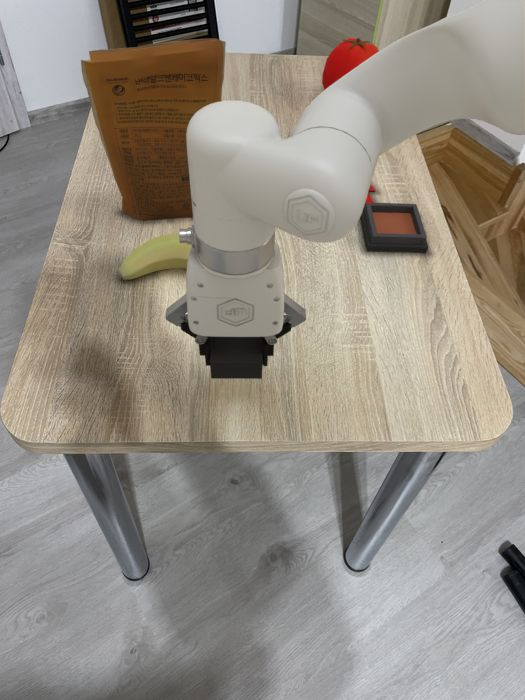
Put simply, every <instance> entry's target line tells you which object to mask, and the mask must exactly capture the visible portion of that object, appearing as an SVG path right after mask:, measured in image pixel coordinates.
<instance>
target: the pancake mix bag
mask: <svg viewBox="0 0 525 700" xmlns="http://www.w3.org/2000/svg"><path fill="white" fill-rule="evenodd" d="M226 44H227V42H226V41H224V40H221V39H219V38H199V39H197V38H195V39H184V40H174V41H166V42H159V43H158V42H157V43H152V44H148V45H143V46H142V45H141V46H135V47H133V46H132V47H122V48H108V49H106V48H105V49H95V50H89V51H88V55H89V59H80V64H81V65H80V66H81V74H82V81H83V83H84V86H85V88H86V91H87V95H88V99H89V103H90V108H91V111H92V116H93V119H94V124H95V126H96V128H97V130H98V132H99V137H100V140H101V143H102V146H103V147H104V151H105V155H106V157H107V160H108V162H109V166H110V169H111V171H112V176H113V177H114V181H115V183H116V186H117V188H118V191H119V193H120V196H121V212H122V213H123V214H125V215H127V216H129V217H131V218H133V219H134V220H137V221H143V222H144V221H156V220H168V219H169V220H171V219H179V218H180V219H181V218H182V219H183V218H193V211H192V200H191V189H190V177H189V166H188V155H187V141H186V133H187V127H188V124H189V122H190V120H191V118H192V117H193V116H194V114H195V113H196V112H197V111H199V110H200V109H202V108H203V107H205V106H207V105H209V104H212V103H215V102H220V101H222V96H223V94H222V93H223V85H224V80H225V66H226V65H225V64H226Z"/></svg>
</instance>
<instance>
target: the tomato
mask: <svg viewBox="0 0 525 700" xmlns="http://www.w3.org/2000/svg"><path fill="white" fill-rule="evenodd" d="M331 50H332V51H331V52H330V53H329V54H328V56H327V58H326V60H325V64H324V67H323V71H322V77H321V84H322V87H323V91H324V90H325V89H326V88H328V87H329V86H330V85H332V84H333V83H335V82H336V81H337V80H339V79H340V78H342V77H343V76H344V75H346V74H347V73H349V72H350V71H351V70H353V69H354V68H356V67H357V66H359V65H360V64H361V63H363V62H364V61H366V60H367V59H368V58H370V57H371V56H373V55H374V54H376V53H377V52H379V51H380V50H379V48H378V47H377V46H376V45H375V43H374V42H371V41H369V40H362V39H361V38H360V37H358V38H355V37H349V38H346V39H342V41H341V42H339V44H337V46H335V47H334V48H333V49H331Z"/></svg>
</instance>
